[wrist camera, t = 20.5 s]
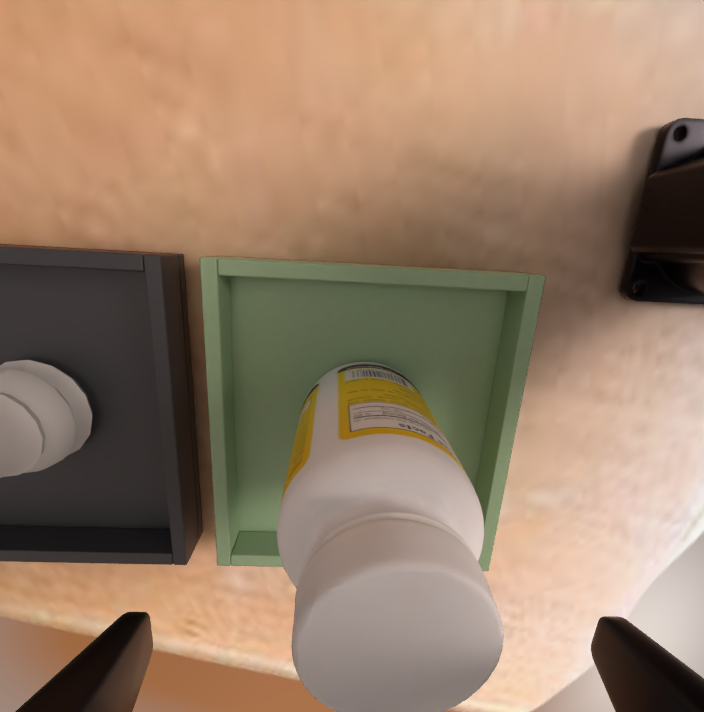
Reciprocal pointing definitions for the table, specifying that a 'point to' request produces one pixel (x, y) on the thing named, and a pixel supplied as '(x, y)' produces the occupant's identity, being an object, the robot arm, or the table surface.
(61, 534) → the charcoal tray
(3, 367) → the rook chess piece
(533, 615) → the table surface
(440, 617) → the supplement bottle
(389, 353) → the green tray
